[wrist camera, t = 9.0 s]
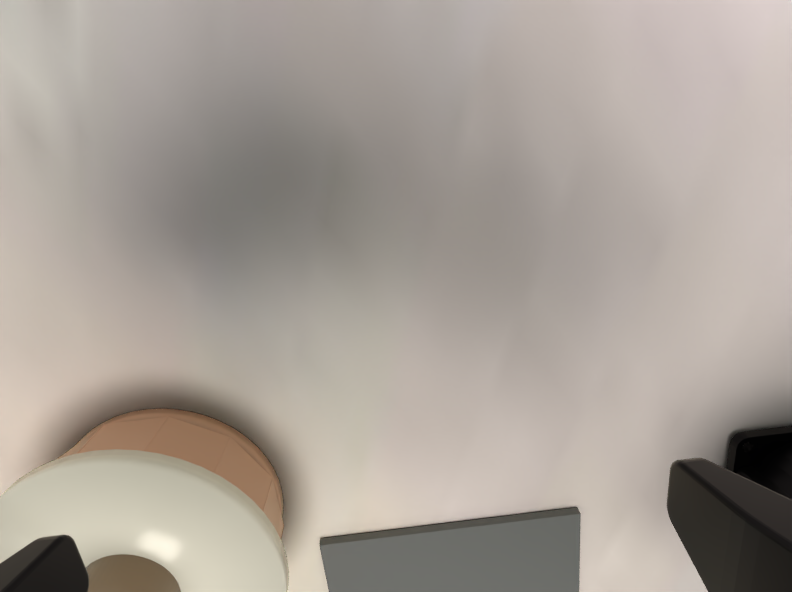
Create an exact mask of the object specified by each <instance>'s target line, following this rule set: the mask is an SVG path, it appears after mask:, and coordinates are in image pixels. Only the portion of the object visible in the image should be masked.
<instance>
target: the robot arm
mask: <svg viewBox="0 0 792 592" xmlns="http://www.w3.org/2000/svg"><path fill="white" fill-rule="evenodd" d="M745 443H746V444H745ZM744 444H745V445H744ZM667 510H668V514H669V517H670V520H671V522H672V524H673V526H674V528H675V530H676V532H677V533H678V535H679V537H680V539H681V541H682V543H683V545H684V547H685V549H686V550H687V552H688V554H689V556H690V558H691V560H692V562H693V564H694V566H695V567H696V569H697V571H698V573H699V575H700V577H701V579H702V581H703V583H704V584H705V586H706V588H707V590H708V592H792V426H788V427H780V428H772V429H763V430H755V431H747V432H741V433H738V434H736V435H735V436H734V437H733V438H732V439H731V442H730V447H729V454H728V461H727V469H725V468H723V467H721V466H719V465H717V464H715V463H712V462H710V461H708V460H706V459H703V458H692V459H683V460H677V461H675V462H673V463H672V465H671V468H670V476H669V487H668V497H667ZM88 587H89V575H88V572H87V570H86V567H85V565H84V562H83V560H82V558H81V555H80V553H79V550H78V548H77V546H76V543H75V541H74V539H73V538H72V537H70V536H69V535H55V536H47V537H42V538H38V539H36V540H34V541H33V542H31V543H30V544H28V545H27V546H25V547H24V548H22V549H21V550H19V551H18V552H16V553H15V554H13V555H12V556H10V557H9V558H8V559H6V560H5V561H3V562H2V563H0V592H88Z"/></svg>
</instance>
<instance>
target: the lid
mask: <svg viewBox="0 0 792 592" xmlns="http://www.w3.org/2000/svg"><path fill="white" fill-rule="evenodd" d="M55 535H69V536H70V537H72V538H73V539H74V541H75V543H76V546H77V548H78V550H79V553H80V555H81V558H82V560H83V562H84V565H85V567H86V570H87V572H88V575H89V587H88V592H287V590H288V580H289V569H288V563H287V556H286V553H285V550H284V547H283V544H282V541H281V539H280V537H279V535H278V533H277V531H276V529H275V527H274V526H273V524H272V523H271V521H270V520H269V519H268V517H267V516H266V514H265V513H264V512H263V511H262V510H261V509H260V508H259V506H258V505H257V504H256V503H255V502H254V501H253V500H252V499H251V498H250V497H248V496H247V495H246V494H245V493H244V492H242V491H241V490H240V489H239V488H238V487H236V486H235V485H233V484H232V483H230V482H229V481H227V480H225V479H224V478H222V477H221V476H219V475H217V474H215V473H213V472H211V471H209V470H207V469H205V468H203V467H201V466H198V465H196V464H193V463H190V462H188V461H185V460H182V459H179V458H175V457H171V456H167V455H163V454H159V453H153V452H146V451H140V450H121V449H112V450H96V451H89V452H83V453H78V454H73V455H69V456H66V457H63V458H59V459H56V460H53V461H51V462H49V463H46V464H44V465H42V466H40V467H38V468H35V469H34V470H32V471H31V472H29V473H28V474H26V475H24V476H23V477H21V478H20V479H19V480H17V481H16V482H15V483H14V484H13V485H12V486H11V487H9V488H8V489H7V490H6V491H5V492H4V493H3V494H2V495H1V496H0V563H2V562H3V561H5V560H6V559H8V558H9V557H10V556H12V555H13V554H15V553H16V552H18V551H19V550H21V549H22V548H24V547H25V546H27V545H28V544H30V543H31V542H33V541H34V540H36V539H38V538H42V537H47V536H55Z"/></svg>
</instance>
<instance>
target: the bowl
mask: <svg viewBox="0 0 792 592" xmlns="http://www.w3.org/2000/svg"><path fill="white" fill-rule="evenodd" d="M112 449H121V450H140V451H146V452H153V453H159V454H163V455H167V456H171V457H175V458H179V459H182V460H185V461H188V462H190V463H193V464H196V465H198V466H201V467H203V468H205V469H207V470H209V471H211V472H213V473H215V474H217V475H219V476H221V477H222V478H224V479H225V480H227V481H229V482H230V483H232V484H233V485H235V486H236V487H238V488H239V489H240V490H241V491H242V492H244V493H245V494H246V495H247V496H248V497H250V498H251V499H252V500H253V501H254V502H255V503H256V504H257V505H258V506H259V508H260V509H261V510H262V511H263V512H264V513H265V514H266V516H267V517H268V519H269V520H270V521H271V523H272V524H273V526H274V527H275V529H276V531H277V533H278V535H279V537H280V539H281V537H282V533H283V528H284V525H283V520H282V515H283V495H282V489H281V486H280V482H279V479H278V477H277V475H276V473H275V471H274V468H273V467H272V465H271V464H270V462H269V461H268V459H267V458H266V456H265V455H264V454H263V453H262V452H261V450H260V449H259V448H258V447H257V446H256V445H255V444H254V443H253V442H251V441H250V440H249V439H248V438H247V437H246V436H244V435H243V434H241V433H240V432H238V431H237V430H235V429H234V428H232V427H230V426H228V425H226V424H224V423H223V422H221V421H218V420H216V419H213V418H211V417H208V416H205V415H201V414H198V413H194V412H190V411H184V410H177V409H161V408H160V409H145V410H139V411H133V412H129V413H126V414H122V415H119V416H116V417H114V418H112V419H109V420H107V421H105V422H103V423H101V424H100V425H98V426H97V427H95V428H94V429H92V430H91V431H90V432H89V433H87V434H86V435H85V436H84V437H83V438H82V439H81V440H80V441H79V442H78V443H77V444H76V445H75V446H74V447H73V448H71V449H70V450H69V451H67V452H66V453H64V454H63V455H62V456H60V457H59V458H63V457H66V456H69V455H73V454H78V453H83V452H89V451H96V450H112ZM59 458H58V459H59Z"/></svg>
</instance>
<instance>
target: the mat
mask: <svg viewBox="0 0 792 592" xmlns="http://www.w3.org/2000/svg"><path fill="white" fill-rule="evenodd" d="M320 550H321V555H322V560H323V565H324V570H325V575H326V579H327V584H328V589H329V592H579V561H580V512H579V510H578V508H577V507H576V508H567V509H559V510H551V511H543V512H535V513H526V514H518V515H510V516H502V517H494V518H485V519H477V520H469V521H461V522H452V523H444V524H436V525H428V526H420V527H411V528H403V529H395V530H387V531H379V532H370V533H362V534H354V535H346V536H337V537H329V538H321V539H320Z"/></svg>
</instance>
